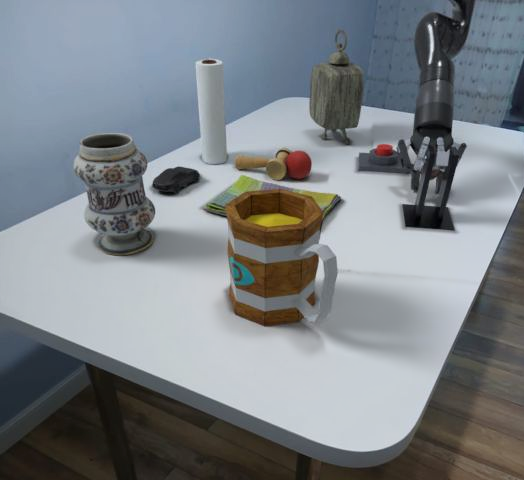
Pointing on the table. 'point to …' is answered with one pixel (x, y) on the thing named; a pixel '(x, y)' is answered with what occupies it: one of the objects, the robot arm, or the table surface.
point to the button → (384, 150)
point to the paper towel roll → (211, 110)
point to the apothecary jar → (115, 192)
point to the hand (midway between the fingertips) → (427, 191)
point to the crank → (439, 163)
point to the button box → (380, 162)
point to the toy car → (175, 179)
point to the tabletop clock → (336, 92)
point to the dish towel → (250, 184)
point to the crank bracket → (440, 213)
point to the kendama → (279, 164)
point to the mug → (277, 257)
